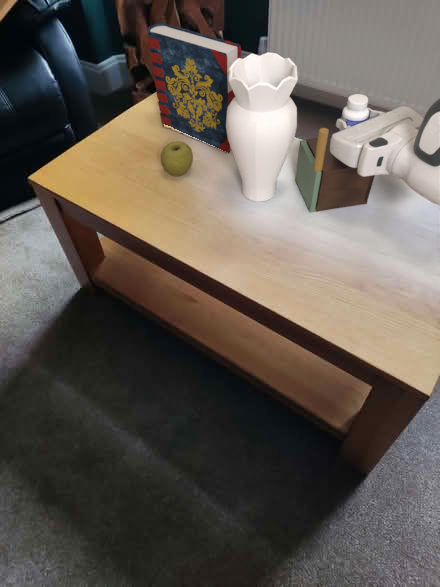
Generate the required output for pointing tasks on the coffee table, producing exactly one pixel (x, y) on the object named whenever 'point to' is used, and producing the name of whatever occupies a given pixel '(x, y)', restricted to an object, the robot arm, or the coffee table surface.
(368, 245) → the coffee table surface
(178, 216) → the coffee table surface
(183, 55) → the book
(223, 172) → the coffee table surface
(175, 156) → the apple
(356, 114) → the pill bottle
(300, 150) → the cupboard door
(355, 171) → the cupboard
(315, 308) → the coffee table surface
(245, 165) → the vase
